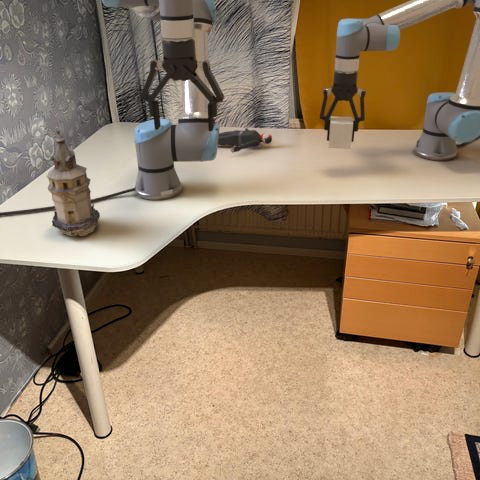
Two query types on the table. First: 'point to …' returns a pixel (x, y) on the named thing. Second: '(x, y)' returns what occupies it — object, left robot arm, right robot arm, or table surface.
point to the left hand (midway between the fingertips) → (184, 128)
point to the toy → (243, 139)
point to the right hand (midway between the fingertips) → (340, 139)
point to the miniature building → (70, 193)
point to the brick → (340, 132)
